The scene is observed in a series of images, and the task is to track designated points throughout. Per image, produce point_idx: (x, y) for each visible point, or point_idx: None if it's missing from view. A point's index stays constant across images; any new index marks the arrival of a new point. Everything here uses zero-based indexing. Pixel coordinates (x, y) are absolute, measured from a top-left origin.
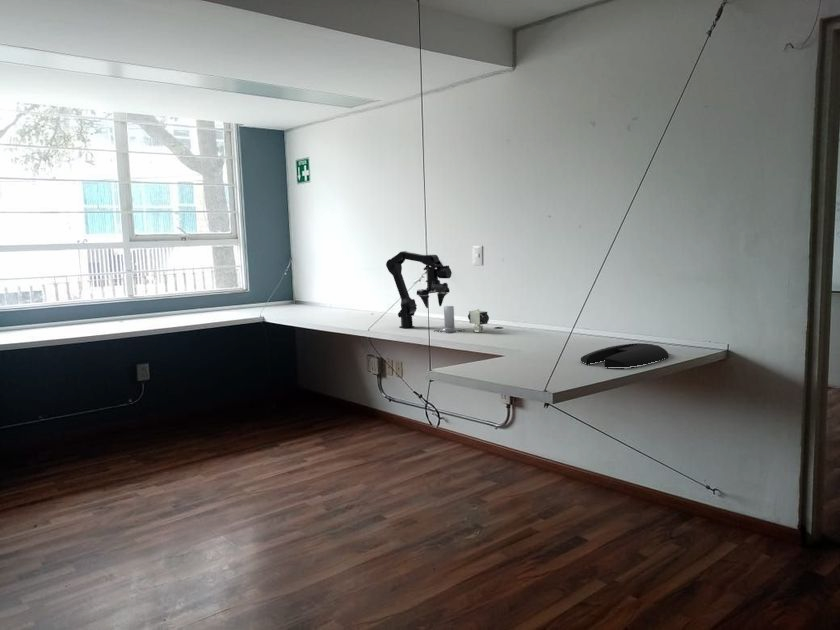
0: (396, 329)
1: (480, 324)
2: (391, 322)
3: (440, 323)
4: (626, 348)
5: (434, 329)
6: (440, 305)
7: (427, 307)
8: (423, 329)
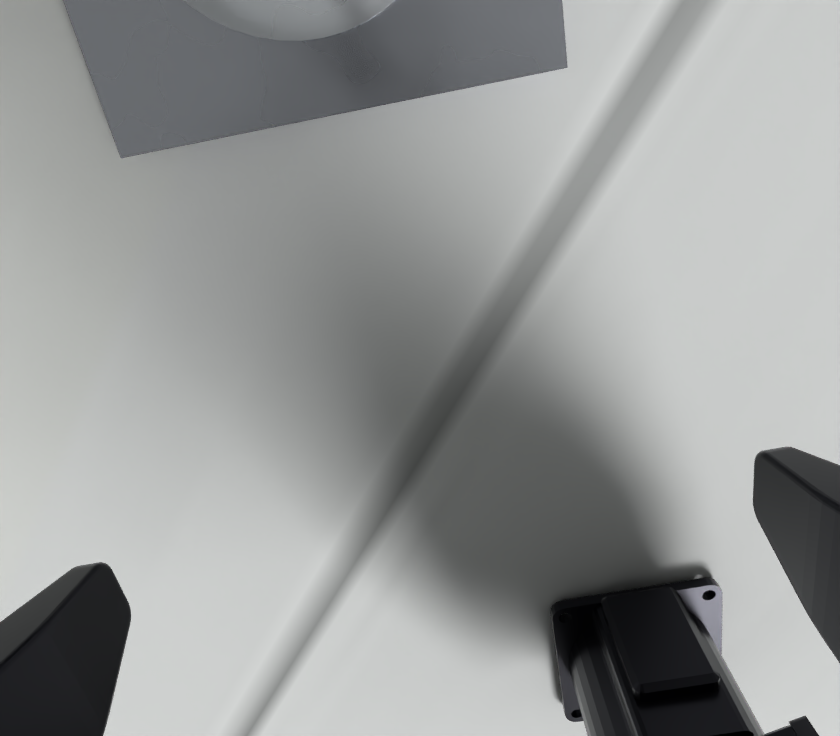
0: None
1: None
2: None
3: None
4: None
5: (535, 69)
6: (94, 588)
7: (795, 454)
8: (568, 369)
